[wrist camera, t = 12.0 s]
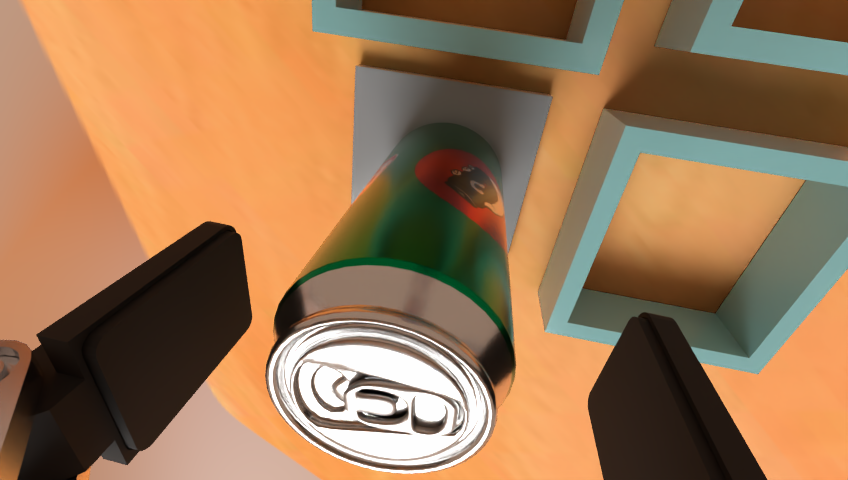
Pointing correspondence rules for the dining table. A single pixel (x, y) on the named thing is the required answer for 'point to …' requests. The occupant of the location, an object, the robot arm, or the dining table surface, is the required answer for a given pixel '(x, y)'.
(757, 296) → the dish
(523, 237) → the dining table surface
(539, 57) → the dish
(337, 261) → the soda can
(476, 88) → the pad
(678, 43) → the dish
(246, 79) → the dining table surface
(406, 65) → the dining table surface
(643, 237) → the dining table surface
